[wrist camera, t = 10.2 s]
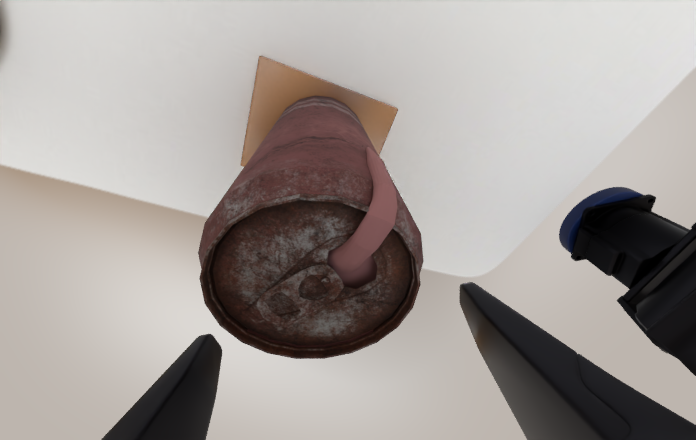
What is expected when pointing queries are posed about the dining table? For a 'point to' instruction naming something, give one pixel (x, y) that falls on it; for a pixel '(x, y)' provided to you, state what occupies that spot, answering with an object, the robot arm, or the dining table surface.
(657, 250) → the robot arm
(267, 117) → the caramel mat
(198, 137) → the dining table surface
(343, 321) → the can
